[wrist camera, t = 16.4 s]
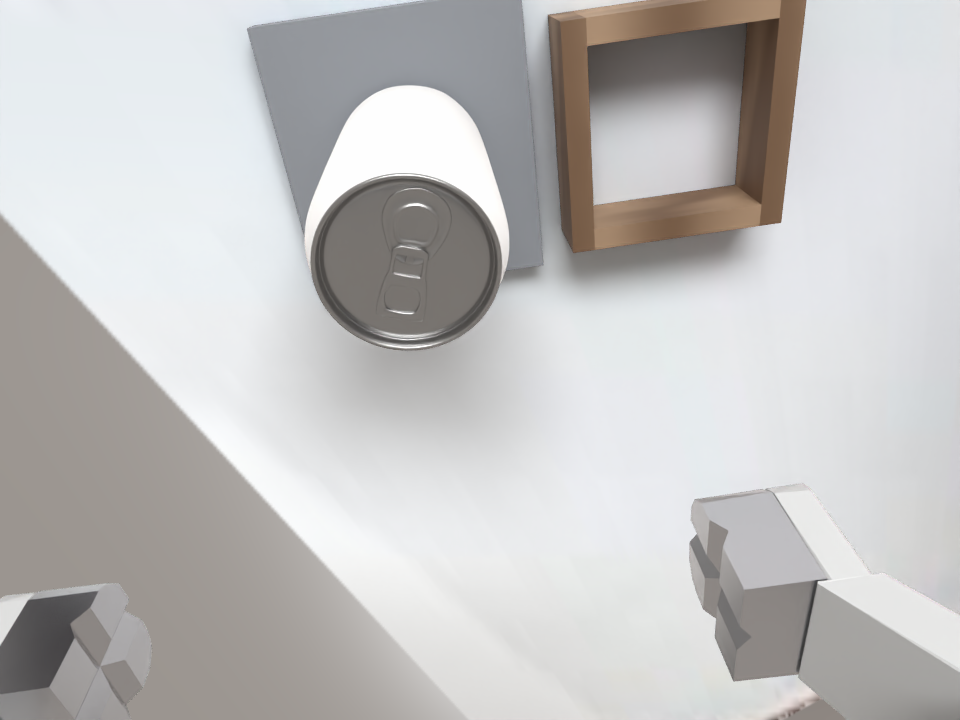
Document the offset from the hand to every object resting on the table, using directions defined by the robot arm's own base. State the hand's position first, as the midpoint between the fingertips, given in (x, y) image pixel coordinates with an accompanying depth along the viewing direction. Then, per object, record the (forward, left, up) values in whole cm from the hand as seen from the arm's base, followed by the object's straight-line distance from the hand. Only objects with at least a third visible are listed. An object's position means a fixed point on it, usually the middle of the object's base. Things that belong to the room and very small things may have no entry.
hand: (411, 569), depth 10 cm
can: (0, 0, -24) cm, 24 cm away
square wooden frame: (-11, 0, -25) cm, 27 cm away
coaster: (0, 0, -25) cm, 25 cm away
